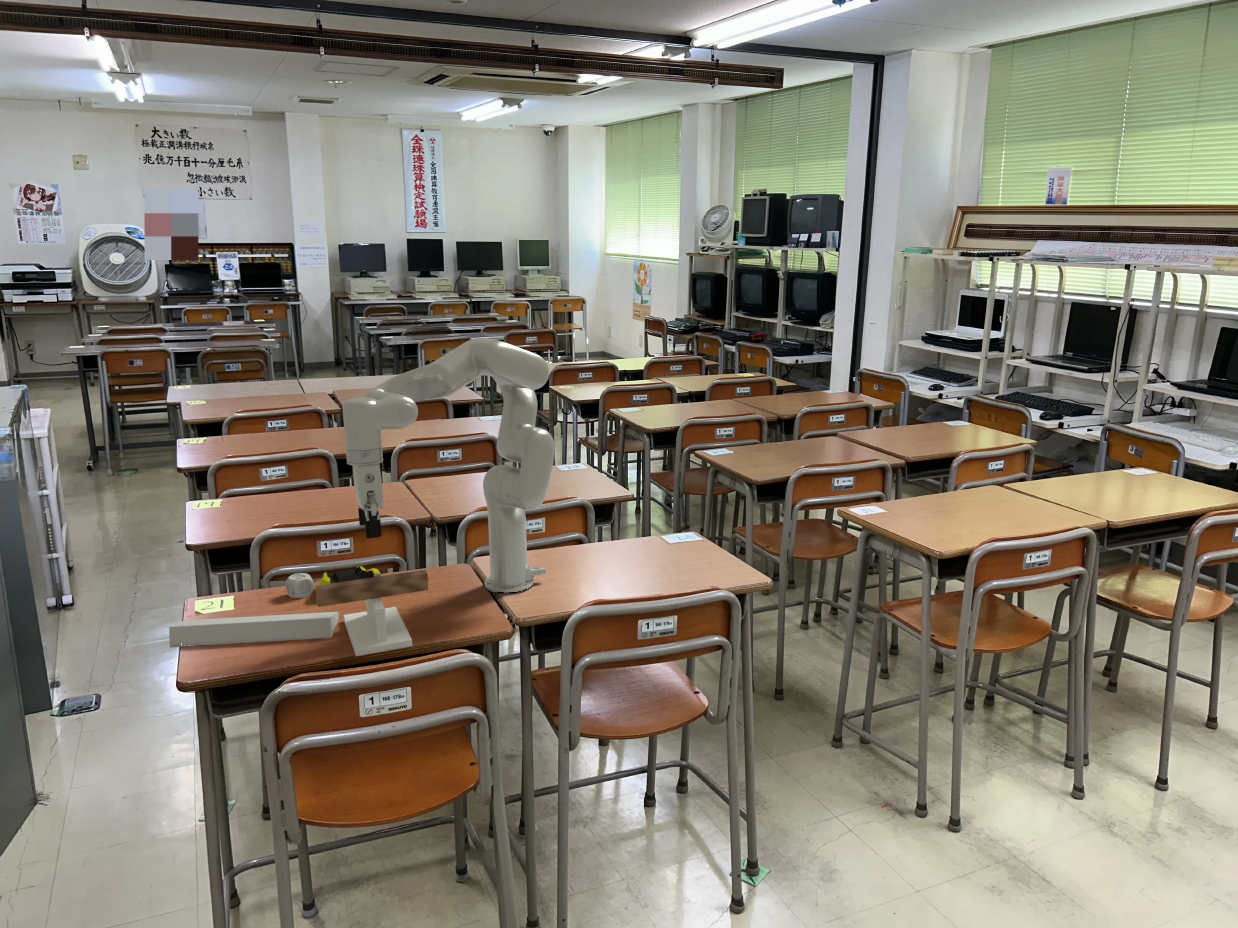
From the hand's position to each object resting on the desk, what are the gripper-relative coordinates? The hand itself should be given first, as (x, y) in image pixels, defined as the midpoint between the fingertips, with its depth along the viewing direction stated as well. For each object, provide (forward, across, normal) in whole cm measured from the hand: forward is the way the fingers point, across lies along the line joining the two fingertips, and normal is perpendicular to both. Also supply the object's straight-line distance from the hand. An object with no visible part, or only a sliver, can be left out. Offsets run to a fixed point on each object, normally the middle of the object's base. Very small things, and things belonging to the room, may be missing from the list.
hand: (370, 530), depth 194 cm
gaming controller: (+25, +30, +3) cm, 39 cm away
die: (+25, +31, +14) cm, 42 cm away
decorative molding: (+25, +11, +25) cm, 37 cm away
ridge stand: (+24, 0, 0) cm, 24 cm away
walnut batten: (+15, 0, 0) cm, 15 cm away
